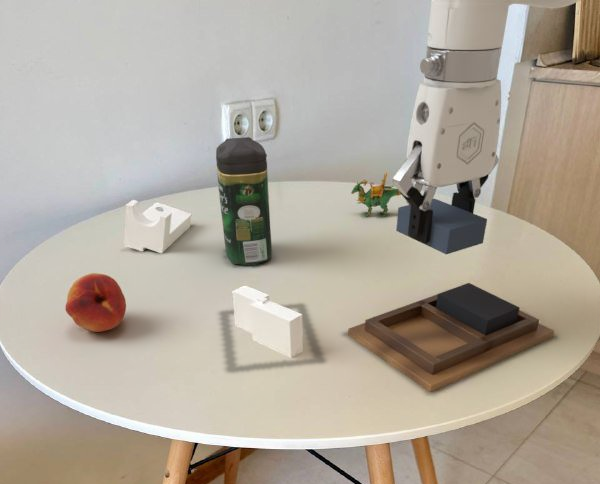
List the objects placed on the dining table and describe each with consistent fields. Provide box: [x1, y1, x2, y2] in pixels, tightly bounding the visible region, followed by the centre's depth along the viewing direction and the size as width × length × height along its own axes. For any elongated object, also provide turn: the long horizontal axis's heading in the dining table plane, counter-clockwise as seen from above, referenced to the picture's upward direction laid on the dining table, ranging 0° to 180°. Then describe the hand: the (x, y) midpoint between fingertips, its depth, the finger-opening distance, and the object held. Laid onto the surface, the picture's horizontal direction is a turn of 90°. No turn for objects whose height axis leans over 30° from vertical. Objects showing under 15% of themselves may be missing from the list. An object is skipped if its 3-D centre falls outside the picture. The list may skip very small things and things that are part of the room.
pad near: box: [436, 282, 520, 335], centre depth 80 cm, size 9×6×3 cm, turn 33°
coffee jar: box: [215, 136, 273, 266], centre depth 96 cm, size 10×8×19 cm
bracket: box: [123, 199, 193, 254], centre depth 106 cm, size 13×7×8 cm, turn 166°
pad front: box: [396, 198, 488, 255], centre depth 72 cm, size 9×6×3 cm, turn 32°
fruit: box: [65, 272, 127, 333], centre depth 80 cm, size 8×8×8 cm
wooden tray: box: [347, 293, 555, 393], centre depth 78 cm, size 16×22×2 cm
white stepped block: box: [231, 284, 304, 359], centre depth 78 cm, size 15×11×6 cm
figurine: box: [351, 172, 402, 218], centre depth 114 cm, size 3×12×8 cm, turn 87°
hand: (439, 232), depth 72 cm, fingers closed on pad front, 6 cm apart
